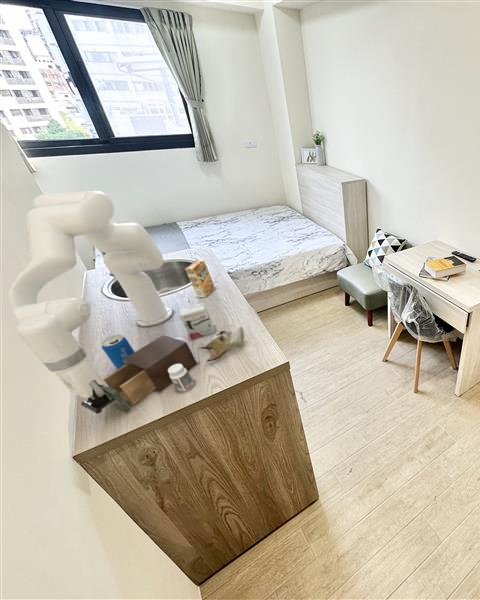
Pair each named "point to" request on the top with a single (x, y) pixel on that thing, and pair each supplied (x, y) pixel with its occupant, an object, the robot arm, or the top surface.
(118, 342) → the beverage can
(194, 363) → the cabinet
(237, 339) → the ceramic sculpture
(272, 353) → the top surface
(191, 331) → the ink box
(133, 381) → the drawer
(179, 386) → the pill bottle
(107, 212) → the robot arm
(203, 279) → the candy box
